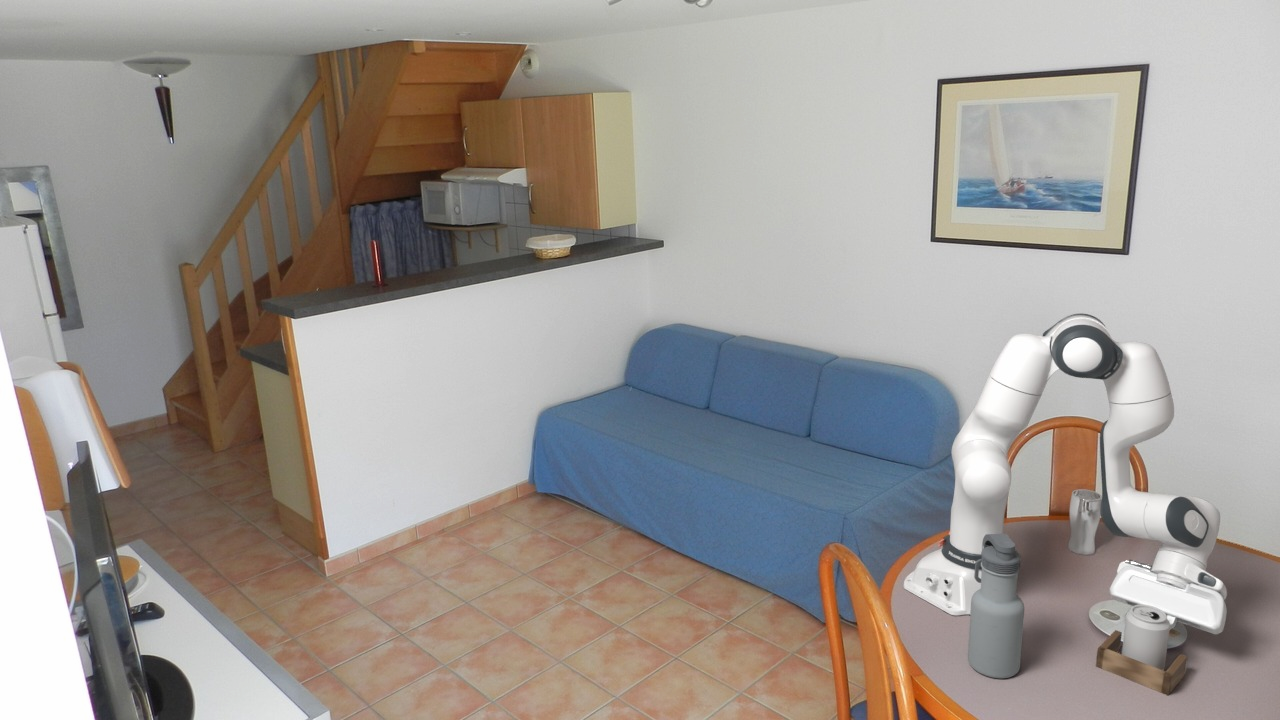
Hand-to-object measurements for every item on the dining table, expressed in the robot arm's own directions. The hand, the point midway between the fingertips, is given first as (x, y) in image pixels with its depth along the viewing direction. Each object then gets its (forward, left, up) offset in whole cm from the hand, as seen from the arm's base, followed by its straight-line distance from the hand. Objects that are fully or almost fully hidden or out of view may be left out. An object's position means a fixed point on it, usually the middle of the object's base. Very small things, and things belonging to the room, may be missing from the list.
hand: (1154, 635), depth 171 cm
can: (0, -4, -5) cm, 7 cm away
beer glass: (-28, +36, -5) cm, 46 cm away
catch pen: (0, -5, -5) cm, 7 cm away
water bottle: (-21, -24, -5) cm, 33 cm away
